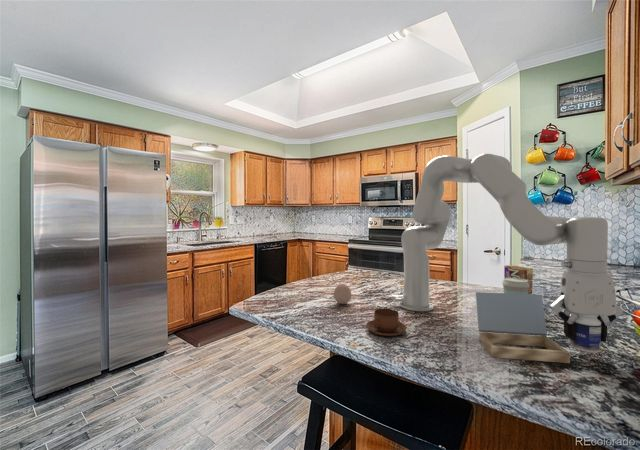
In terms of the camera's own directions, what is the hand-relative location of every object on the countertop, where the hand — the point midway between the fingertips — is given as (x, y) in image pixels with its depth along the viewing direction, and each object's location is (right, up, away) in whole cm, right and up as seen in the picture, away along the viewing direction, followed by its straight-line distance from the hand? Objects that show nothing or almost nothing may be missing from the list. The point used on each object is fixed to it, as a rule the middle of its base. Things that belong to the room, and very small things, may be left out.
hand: (584, 338), depth 74 cm
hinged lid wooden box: (-14, -5, +4) cm, 15 cm away
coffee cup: (+6, -4, +36) cm, 36 cm away
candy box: (+13, -4, +44) cm, 46 cm away
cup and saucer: (-46, -5, +18) cm, 49 cm away
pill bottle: (0, -3, 0) cm, 3 cm away
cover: (-12, +3, +10) cm, 16 cm away
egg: (-57, -4, +47) cm, 74 cm away
